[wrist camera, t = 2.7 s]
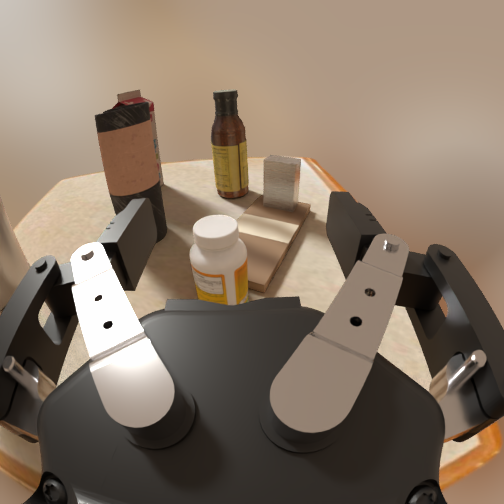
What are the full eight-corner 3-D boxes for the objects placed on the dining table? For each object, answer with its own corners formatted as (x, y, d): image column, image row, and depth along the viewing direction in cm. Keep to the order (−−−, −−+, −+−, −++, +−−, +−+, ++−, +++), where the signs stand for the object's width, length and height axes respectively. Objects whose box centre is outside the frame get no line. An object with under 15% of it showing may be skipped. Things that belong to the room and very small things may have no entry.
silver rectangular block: (292, 212, 42) (295, 164, 38) (263, 206, 44) (263, 160, 39) (297, 204, 45) (300, 159, 40) (269, 199, 46) (270, 155, 42)
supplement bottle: (236, 279, 32) (232, 205, 26) (257, 310, 28) (257, 232, 22) (193, 293, 30) (178, 218, 24) (208, 327, 26) (193, 250, 20)
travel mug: (178, 233, 40) (159, 100, 28) (135, 255, 36) (102, 114, 24) (154, 217, 45) (136, 102, 33) (116, 236, 40) (88, 115, 28)
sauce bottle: (238, 184, 55) (235, 88, 43) (255, 194, 51) (254, 89, 39) (209, 192, 52) (202, 91, 40) (224, 203, 48) (218, 91, 36)
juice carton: (123, 194, 53) (106, 97, 40) (141, 182, 58) (128, 92, 45) (146, 196, 52) (130, 91, 38) (163, 183, 57) (152, 87, 43)
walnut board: (264, 292, 30) (264, 285, 29) (196, 271, 33) (195, 264, 32) (309, 210, 45) (310, 204, 45) (261, 200, 48) (261, 194, 48)
